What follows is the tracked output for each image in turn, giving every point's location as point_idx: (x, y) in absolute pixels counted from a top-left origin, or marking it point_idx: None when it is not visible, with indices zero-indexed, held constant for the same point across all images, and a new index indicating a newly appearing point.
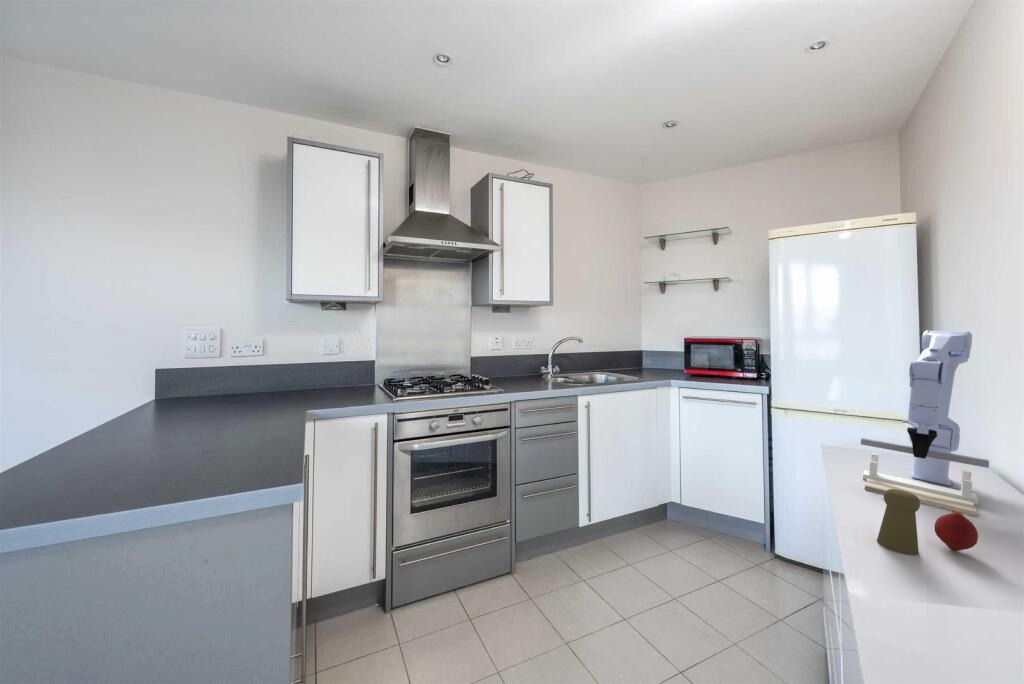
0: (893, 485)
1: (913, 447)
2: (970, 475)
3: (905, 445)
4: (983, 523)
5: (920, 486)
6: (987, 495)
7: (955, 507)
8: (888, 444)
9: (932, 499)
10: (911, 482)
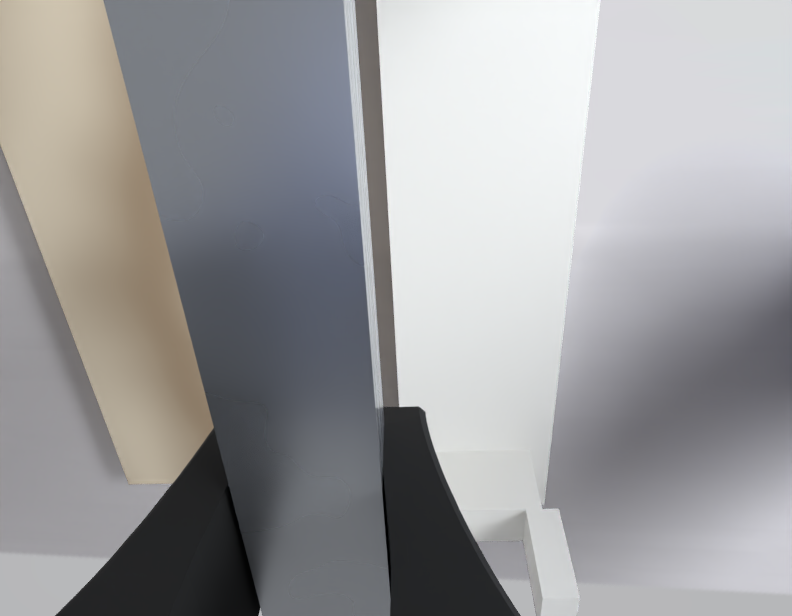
0: None
1: (147, 525)
2: (534, 604)
3: (367, 410)
4: (30, 479)
5: (396, 257)
6: (720, 515)
7: (103, 412)
8: (153, 140)
9: (126, 318)
10: (478, 196)
